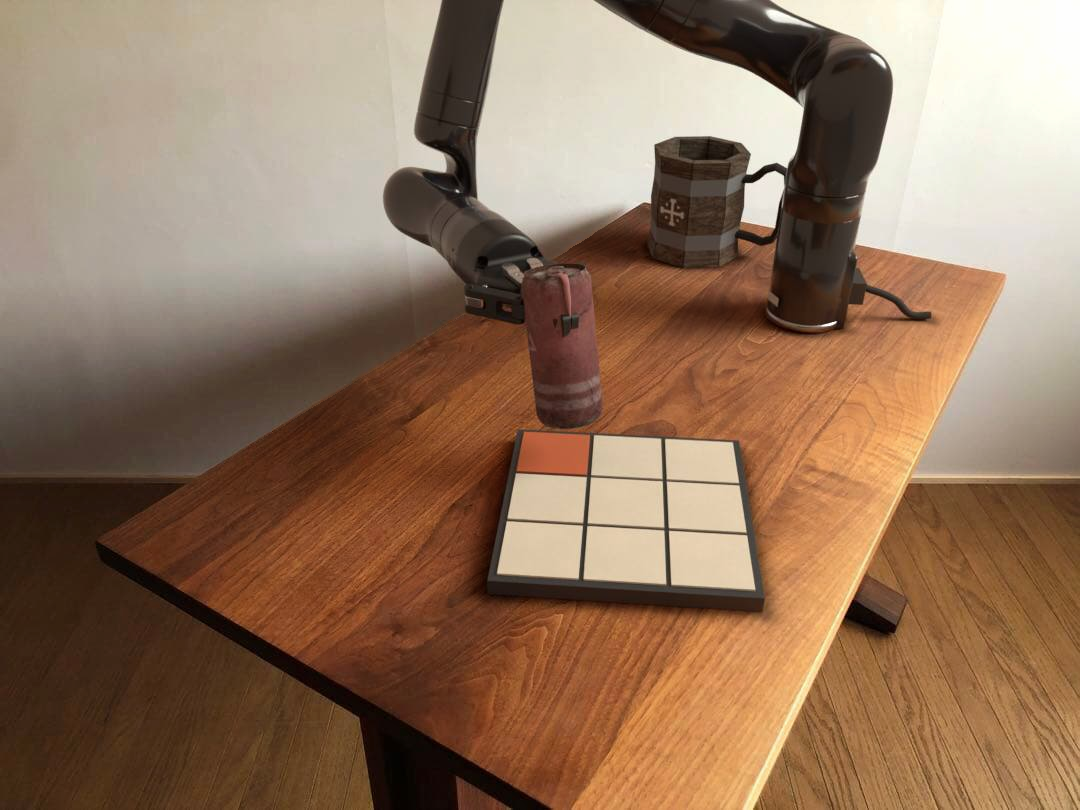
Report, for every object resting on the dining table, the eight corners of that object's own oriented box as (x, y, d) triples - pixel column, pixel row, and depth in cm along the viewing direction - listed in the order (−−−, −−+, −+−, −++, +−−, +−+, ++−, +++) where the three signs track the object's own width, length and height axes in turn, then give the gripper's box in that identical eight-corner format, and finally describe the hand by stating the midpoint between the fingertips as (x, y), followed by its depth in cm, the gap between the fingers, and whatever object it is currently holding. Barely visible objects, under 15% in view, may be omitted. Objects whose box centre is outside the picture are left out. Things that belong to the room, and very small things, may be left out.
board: (737, 452, 91) (739, 438, 90) (762, 612, 72) (765, 596, 71) (518, 441, 93) (517, 427, 92) (487, 594, 74) (487, 578, 73)
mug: (636, 261, 131) (642, 158, 123) (657, 228, 142) (664, 131, 134) (775, 280, 126) (791, 173, 118) (785, 244, 136) (801, 144, 128)
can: (557, 436, 80) (539, 281, 75) (527, 416, 86) (509, 270, 81) (616, 419, 83) (603, 267, 78) (583, 400, 88) (569, 257, 83)
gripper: (424, 229, 87) (500, 302, 74) (548, 208, 92) (639, 273, 79) (429, 300, 91) (501, 382, 78) (547, 276, 96) (634, 349, 83)
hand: (571, 327), depth 78 cm, fingers closed
